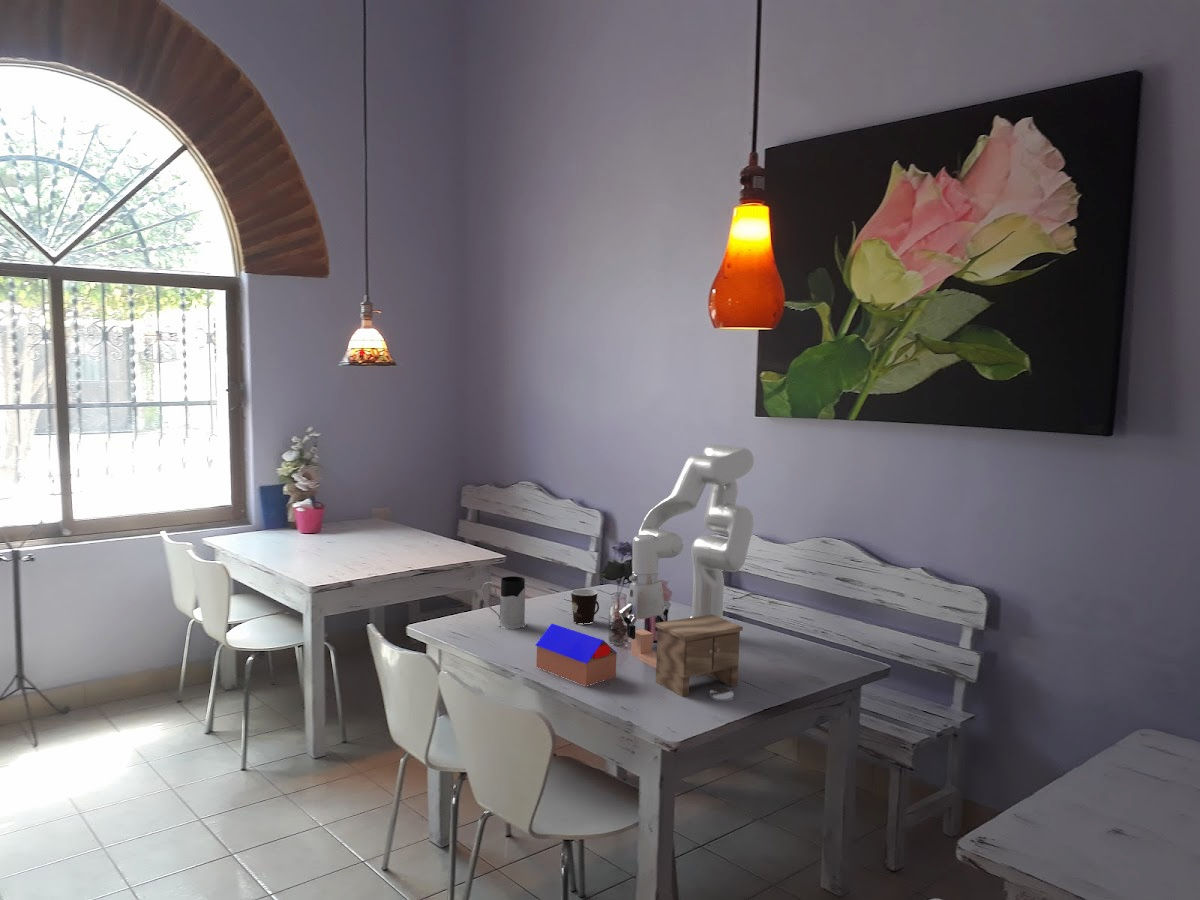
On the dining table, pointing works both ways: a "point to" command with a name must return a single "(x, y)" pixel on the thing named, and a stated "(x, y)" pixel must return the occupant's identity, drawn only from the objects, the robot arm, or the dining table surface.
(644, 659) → the tan stepped beam
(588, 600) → the coffee mug
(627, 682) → the dining table surface
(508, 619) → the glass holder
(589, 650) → the house
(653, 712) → the dining table surface
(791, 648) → the dining table surface
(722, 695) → the steel disc
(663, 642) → the cabinet
